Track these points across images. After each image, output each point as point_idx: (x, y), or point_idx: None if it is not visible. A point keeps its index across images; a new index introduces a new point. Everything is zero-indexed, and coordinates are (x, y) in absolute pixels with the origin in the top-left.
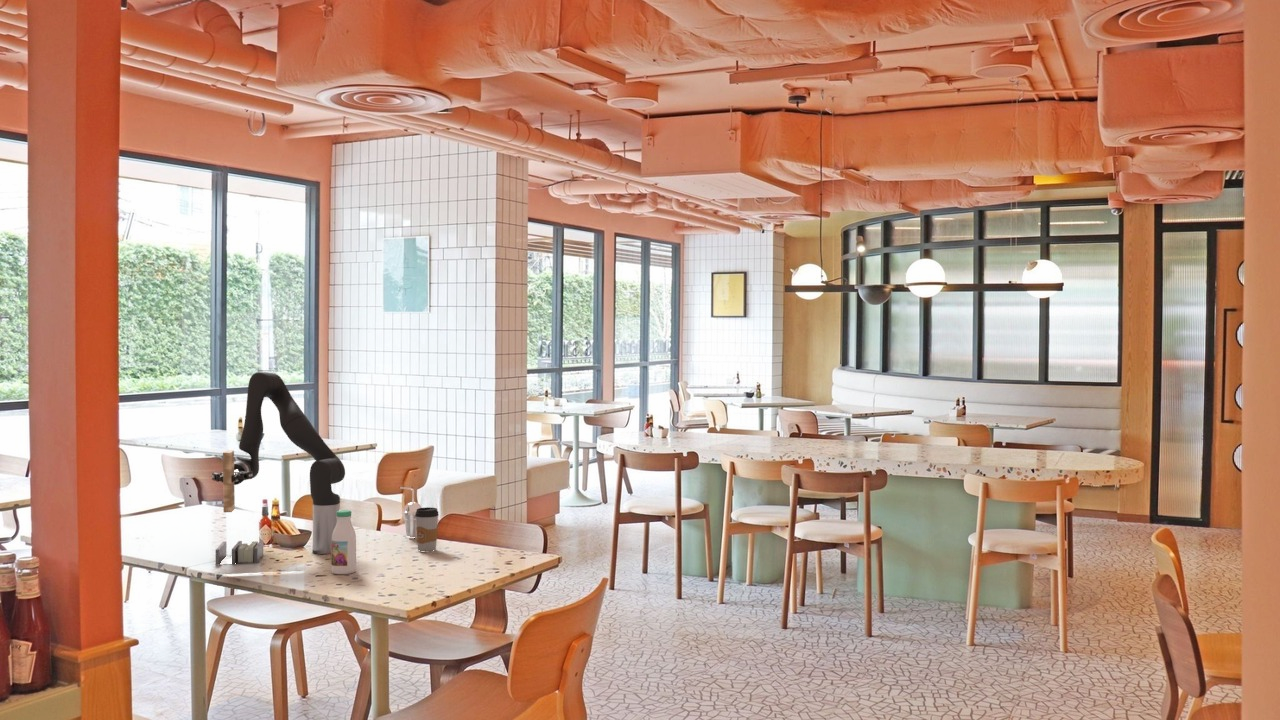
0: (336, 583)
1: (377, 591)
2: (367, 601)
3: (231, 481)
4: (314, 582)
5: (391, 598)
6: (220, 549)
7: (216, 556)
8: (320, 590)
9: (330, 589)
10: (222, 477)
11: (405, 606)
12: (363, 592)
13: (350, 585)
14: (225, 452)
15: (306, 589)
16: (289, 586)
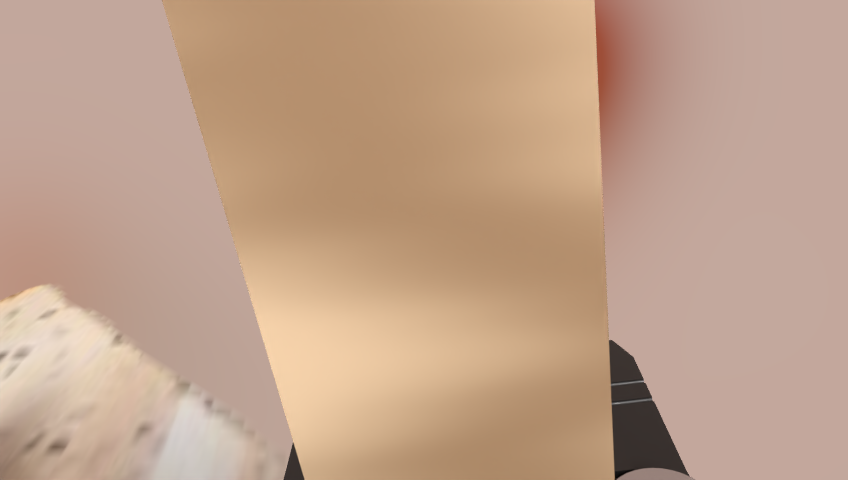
0: (60, 454)
1: (7, 380)
2: (80, 319)
3: None
4: (122, 469)
5: (18, 335)
6: None
7: None
8: (142, 389)
9: (111, 397)
10: None
11: (31, 297)
12: (45, 373)
13: (34, 432)
14: None
15: (176, 398)
16: (217, 427)
